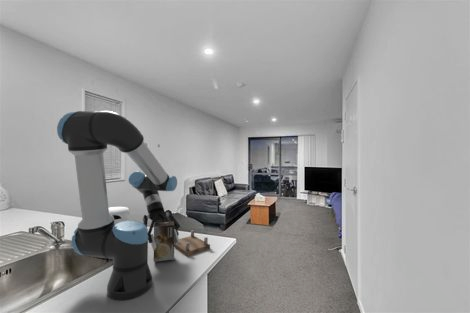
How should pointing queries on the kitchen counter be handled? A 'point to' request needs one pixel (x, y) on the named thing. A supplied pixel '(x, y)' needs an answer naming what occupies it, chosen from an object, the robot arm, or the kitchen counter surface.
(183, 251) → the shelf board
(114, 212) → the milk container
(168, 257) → the coffee box
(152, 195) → the robot arm
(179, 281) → the kitchen counter surface
